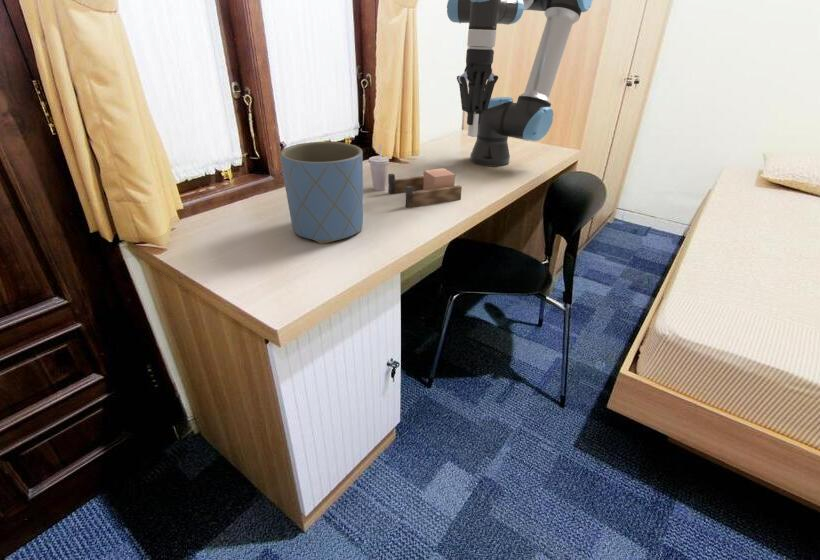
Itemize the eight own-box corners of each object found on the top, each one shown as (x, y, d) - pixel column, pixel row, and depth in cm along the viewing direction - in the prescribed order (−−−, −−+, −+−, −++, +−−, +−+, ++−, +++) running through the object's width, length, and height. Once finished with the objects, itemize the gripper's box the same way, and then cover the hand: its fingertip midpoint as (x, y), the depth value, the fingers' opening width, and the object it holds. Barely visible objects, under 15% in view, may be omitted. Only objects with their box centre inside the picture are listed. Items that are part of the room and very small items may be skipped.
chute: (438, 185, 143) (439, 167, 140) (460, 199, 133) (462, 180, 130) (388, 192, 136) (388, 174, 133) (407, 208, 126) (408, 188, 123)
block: (442, 189, 141) (443, 168, 137) (453, 196, 135) (455, 174, 132) (423, 192, 138) (423, 170, 134) (433, 199, 133) (434, 177, 129)
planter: (380, 230, 112) (379, 152, 102) (318, 253, 101) (309, 168, 90) (336, 209, 124) (331, 137, 113) (276, 228, 112) (264, 149, 102)
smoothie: (386, 193, 136) (386, 147, 129) (367, 191, 137) (365, 146, 130) (391, 186, 142) (391, 142, 135) (372, 184, 143) (371, 141, 136)
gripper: (492, 47, 125) (483, 131, 137) (453, 47, 120) (447, 134, 132) (508, 48, 120) (497, 137, 132) (468, 48, 114) (460, 140, 126)
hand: (472, 135), depth 132 cm, fingers closed
